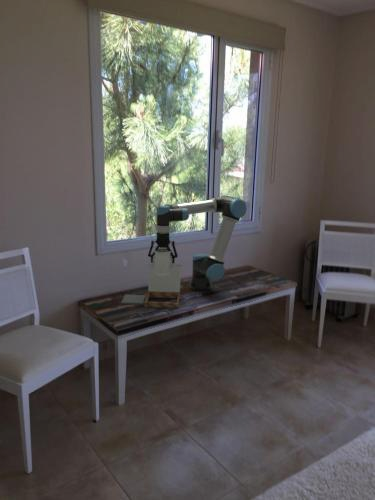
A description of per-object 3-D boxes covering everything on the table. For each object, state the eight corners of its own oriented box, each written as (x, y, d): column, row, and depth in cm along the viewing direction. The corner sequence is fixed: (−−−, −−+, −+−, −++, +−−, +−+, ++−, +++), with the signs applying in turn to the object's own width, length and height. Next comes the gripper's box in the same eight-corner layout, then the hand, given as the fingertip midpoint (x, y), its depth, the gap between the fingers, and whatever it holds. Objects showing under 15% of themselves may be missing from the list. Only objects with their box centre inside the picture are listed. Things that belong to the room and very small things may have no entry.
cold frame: (179, 297, 263) (179, 293, 262) (178, 308, 247) (178, 303, 246) (148, 296, 264) (148, 291, 263) (144, 306, 247) (144, 302, 247)
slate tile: (145, 296, 263) (145, 295, 263) (142, 304, 250) (142, 303, 250) (125, 296, 263) (125, 294, 263) (121, 303, 251) (121, 302, 250)
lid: (179, 292, 262) (179, 292, 263) (180, 265, 262) (180, 265, 263) (148, 291, 263) (148, 290, 264) (149, 263, 263) (149, 263, 264)
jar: (168, 277, 245) (169, 253, 241) (151, 276, 247) (151, 251, 243) (172, 272, 255) (173, 248, 251) (156, 270, 257) (156, 247, 253)
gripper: (182, 231, 247) (181, 267, 253) (144, 230, 248) (144, 265, 254) (182, 234, 240) (181, 270, 246) (142, 232, 241) (142, 269, 246)
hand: (162, 268), depth 250 cm, fingers closed on jar, 10 cm apart
